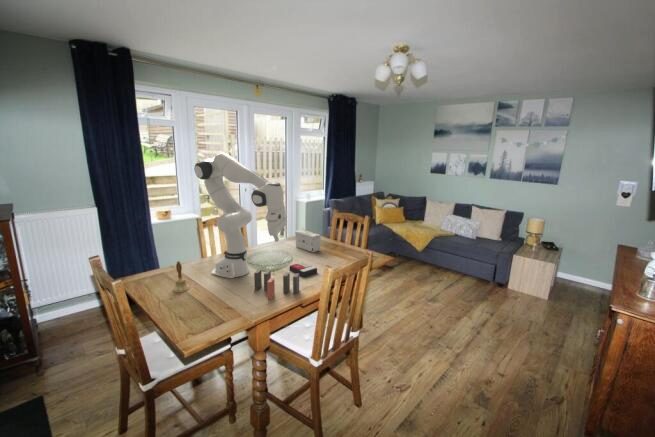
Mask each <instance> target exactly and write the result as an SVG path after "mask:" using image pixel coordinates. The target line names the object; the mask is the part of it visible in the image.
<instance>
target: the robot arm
mask: <svg viewBox="0 0 655 437" xmlns="http://www.w3.org/2000/svg"><path fill="white" fill-rule="evenodd" d="M194 173H195V175H196V177H197V178H199V180H203V182H204V186H205V189H206V192H207V194H208V195H209V197H210V199H211V201H212V202H213V204H214V205H215V208H217V209H219V210H221V211H223V212H224V213H223V214H222V215H221V216H219V217H218V218H217V219H216V226H217V229H218V230H220V232H221V233H223V234H224V237H225V241H226V250H225V251H224V252H223V253H222V256H223V257H221V258H220V259H219V260H218V261H217V262H216V263H215V267H214V268H213V270H212V271H211V275H214V276H218V277H224V278H228V279H234V278H237V277H242V276H243V277H244V276H245V275H247V274H248V273H250V269H249V266H248V261H247V260H248V254H247V253H248V252H247V248H246V246H247V245H246V244H247V243H246V237H245V236H244V235H242V233H241V228H243V227H245V226H247V225H248V224H250V222H251V221H252V217H253V216H252V213H251V211H250V210H248V209H246V208H244V207H243V206H241V205H240V203H239V202H237V200H235V198H234V197H233V195H232V193H231V192H230V190H229V188H228V186H227V184H226V183H225V182H224V178H225V179H226V180H228V181H229V182H231V183H235V184H251V185H254V186H255V187H256V189H254V190H252V193H251V202H252V203H253V204H254V206H255V207H258V208H262V207H267V214H266V216H265V221H267V224H266V225H267V231H268V234H269V236H271V237H272V236H273V238H274V242H275V243H277V242H279V241H280V238H279V234H280V237H284V236H285V227H286V226H287V224H288V220H287V215H286V206H285V204H284V201H285V198H284V192H283V187H282V184H281V183H280V182H278V181H269V180H267V179H265V178H264V177H263V176H261V175H260V174H258V173H257V172H255V171H253V169H252V170H251V169H249V168H248V167H246V166H244V165H243V164H241V163H240V162H239V161H237V159H235V158H234V157H232V156H231V155H229V154H228V153H226V152H220V153H217V154H216V155H215V156H213V157H210V158H207V159H204V160H200V161H198V162H197V163H195V165H194Z"/></svg>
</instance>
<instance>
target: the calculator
mask: <svg viewBox="0 0 655 437" xmlns="http://www.w3.org/2000/svg"><path fill="white" fill-rule="evenodd" d="M289 271H291V273H294V274H296V273H299V277H301V278H308V277H310V276H313V275H316V274H318V267H315V266H313V265H311V264H309V263H306V262H304V261H301V262H298V263H294V264H290V266H289Z"/></svg>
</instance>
